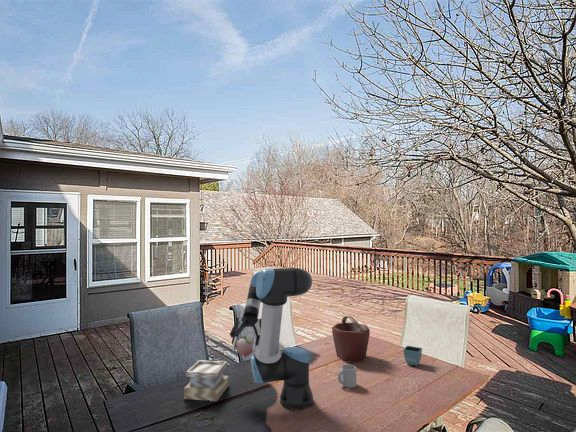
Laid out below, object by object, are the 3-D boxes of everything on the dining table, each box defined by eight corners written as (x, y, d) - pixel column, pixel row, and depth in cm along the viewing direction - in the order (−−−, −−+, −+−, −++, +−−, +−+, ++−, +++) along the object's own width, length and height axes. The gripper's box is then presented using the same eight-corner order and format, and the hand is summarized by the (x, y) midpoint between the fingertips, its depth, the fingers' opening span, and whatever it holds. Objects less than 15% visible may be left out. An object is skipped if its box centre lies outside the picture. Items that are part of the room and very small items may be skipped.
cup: (359, 386, 172) (358, 368, 172) (342, 390, 168) (341, 371, 168) (351, 381, 178) (350, 363, 179) (334, 384, 174) (334, 366, 175)
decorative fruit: (231, 356, 165) (231, 335, 165) (245, 352, 171) (245, 332, 171) (244, 361, 158) (244, 339, 159) (257, 357, 164) (257, 335, 165)
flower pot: (422, 363, 202) (422, 347, 203) (419, 368, 195) (419, 352, 195) (407, 360, 207) (407, 345, 207) (403, 365, 199) (403, 349, 200)
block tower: (228, 386, 173) (228, 361, 174) (217, 401, 157) (217, 373, 158) (198, 384, 175) (198, 359, 176) (184, 398, 159) (184, 372, 160)
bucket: (372, 365, 200) (372, 321, 201) (334, 365, 200) (334, 321, 201) (364, 351, 224) (363, 312, 225) (330, 351, 224) (329, 312, 226)
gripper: (273, 314, 179) (267, 355, 162) (233, 313, 182) (222, 353, 166) (271, 306, 174) (264, 348, 157) (230, 305, 177) (219, 346, 161)
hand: (243, 351), depth 161 cm, fingers closed on decorative fruit, 9 cm apart
